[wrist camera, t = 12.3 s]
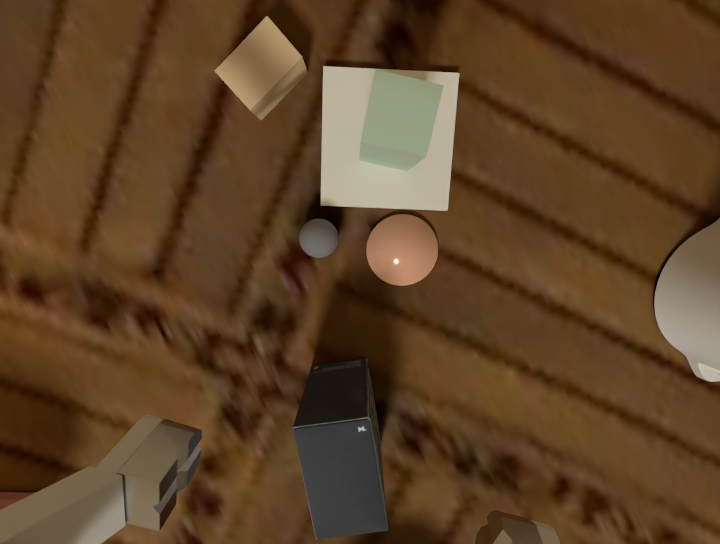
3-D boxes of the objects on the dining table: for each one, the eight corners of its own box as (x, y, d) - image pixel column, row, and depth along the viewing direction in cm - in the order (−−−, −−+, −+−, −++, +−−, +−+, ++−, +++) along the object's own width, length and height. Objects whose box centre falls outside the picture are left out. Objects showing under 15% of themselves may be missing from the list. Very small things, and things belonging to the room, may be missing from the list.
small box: (306, 364, 36) (287, 426, 26) (368, 355, 36) (373, 414, 25) (324, 453, 38) (312, 544, 27) (382, 444, 38) (392, 533, 27)
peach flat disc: (438, 215, 34) (440, 215, 33) (433, 284, 35) (435, 286, 34) (367, 213, 34) (367, 213, 33) (365, 283, 35) (365, 284, 34)
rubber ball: (339, 219, 33) (337, 220, 30) (338, 255, 34) (336, 261, 30) (302, 217, 33) (296, 218, 30) (302, 254, 34) (296, 259, 30)
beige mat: (456, 76, 31) (459, 72, 30) (445, 210, 33) (447, 210, 32) (324, 69, 31) (323, 66, 30) (321, 205, 33) (320, 205, 32)
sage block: (418, 121, 31) (443, 85, 22) (406, 171, 32) (426, 156, 23) (369, 109, 31) (375, 68, 22) (359, 160, 31) (360, 141, 23)
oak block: (276, 37, 30) (267, 15, 27) (308, 73, 31) (302, 56, 28) (229, 86, 31) (214, 71, 28) (261, 120, 32) (250, 110, 28)
